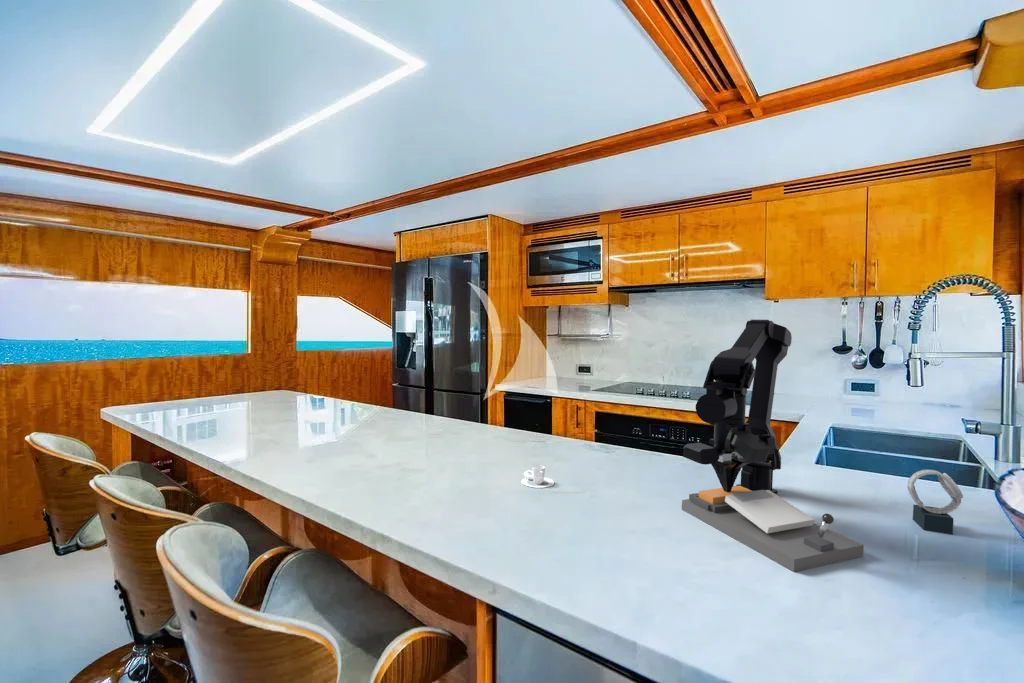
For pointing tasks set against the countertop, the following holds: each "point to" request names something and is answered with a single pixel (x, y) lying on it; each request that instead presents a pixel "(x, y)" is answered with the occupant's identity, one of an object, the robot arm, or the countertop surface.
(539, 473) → the teacup and saucer
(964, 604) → the countertop surface
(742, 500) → the rocker switch
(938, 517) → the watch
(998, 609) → the countertop surface
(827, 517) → the toggle lever
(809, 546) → the panel
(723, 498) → the push button
